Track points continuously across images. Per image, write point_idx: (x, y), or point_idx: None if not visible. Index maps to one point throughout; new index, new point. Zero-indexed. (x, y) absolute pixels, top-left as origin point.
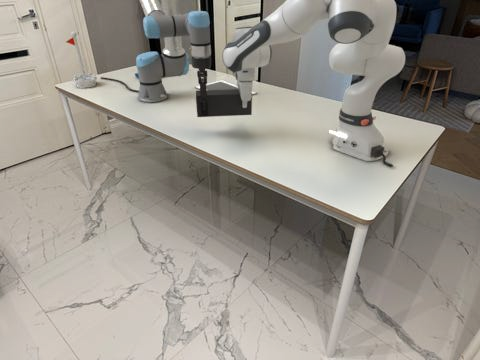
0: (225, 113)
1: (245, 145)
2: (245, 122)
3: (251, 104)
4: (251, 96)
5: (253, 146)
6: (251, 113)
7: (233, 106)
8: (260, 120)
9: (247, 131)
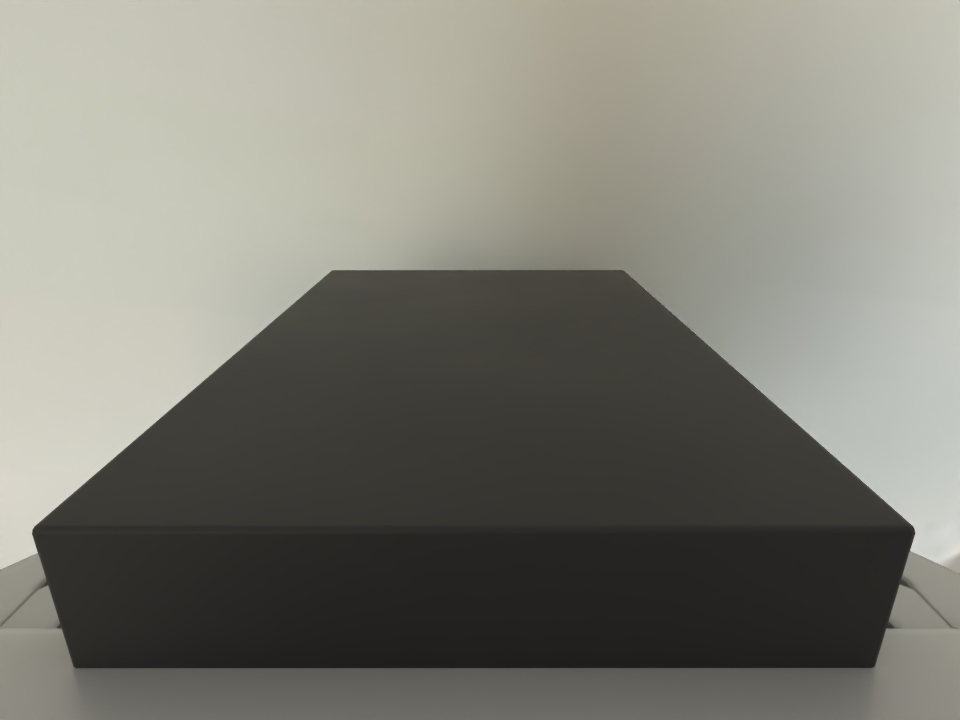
0: None
1: (819, 317)
2: (202, 246)
3: (697, 343)
4: (819, 466)
5: (870, 234)
6: (629, 279)
7: None
8: (118, 18)
9: (472, 253)
